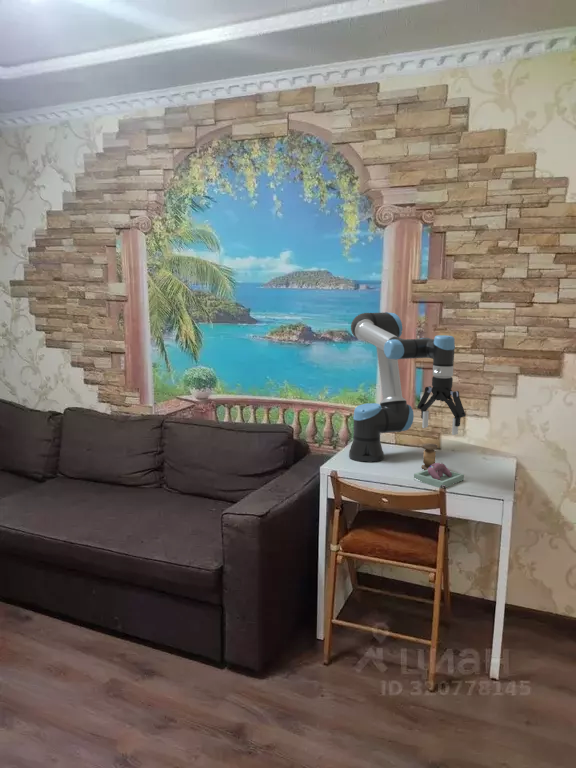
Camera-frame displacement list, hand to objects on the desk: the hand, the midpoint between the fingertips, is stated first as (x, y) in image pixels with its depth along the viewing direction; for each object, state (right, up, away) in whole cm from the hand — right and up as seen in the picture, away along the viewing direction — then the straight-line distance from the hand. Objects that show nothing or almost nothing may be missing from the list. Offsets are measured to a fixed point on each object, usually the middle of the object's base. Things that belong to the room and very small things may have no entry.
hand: (439, 430), depth 222 cm
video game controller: (0, -19, +2) cm, 19 cm away
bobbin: (0, -17, +15) cm, 23 cm away
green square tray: (0, -19, +1) cm, 19 cm away
